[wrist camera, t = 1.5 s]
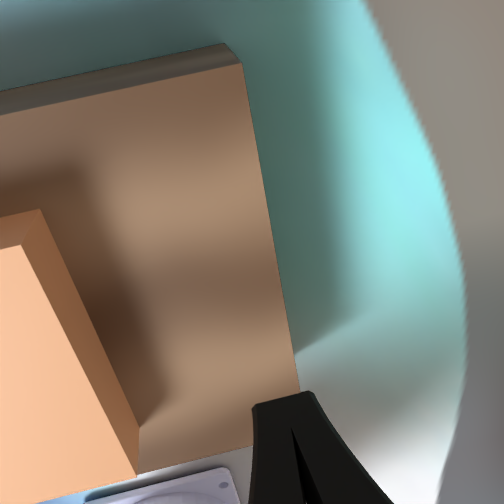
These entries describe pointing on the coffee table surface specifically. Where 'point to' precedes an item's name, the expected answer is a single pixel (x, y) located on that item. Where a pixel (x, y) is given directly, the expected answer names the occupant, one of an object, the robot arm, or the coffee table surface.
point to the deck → (161, 238)
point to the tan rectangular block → (54, 378)
